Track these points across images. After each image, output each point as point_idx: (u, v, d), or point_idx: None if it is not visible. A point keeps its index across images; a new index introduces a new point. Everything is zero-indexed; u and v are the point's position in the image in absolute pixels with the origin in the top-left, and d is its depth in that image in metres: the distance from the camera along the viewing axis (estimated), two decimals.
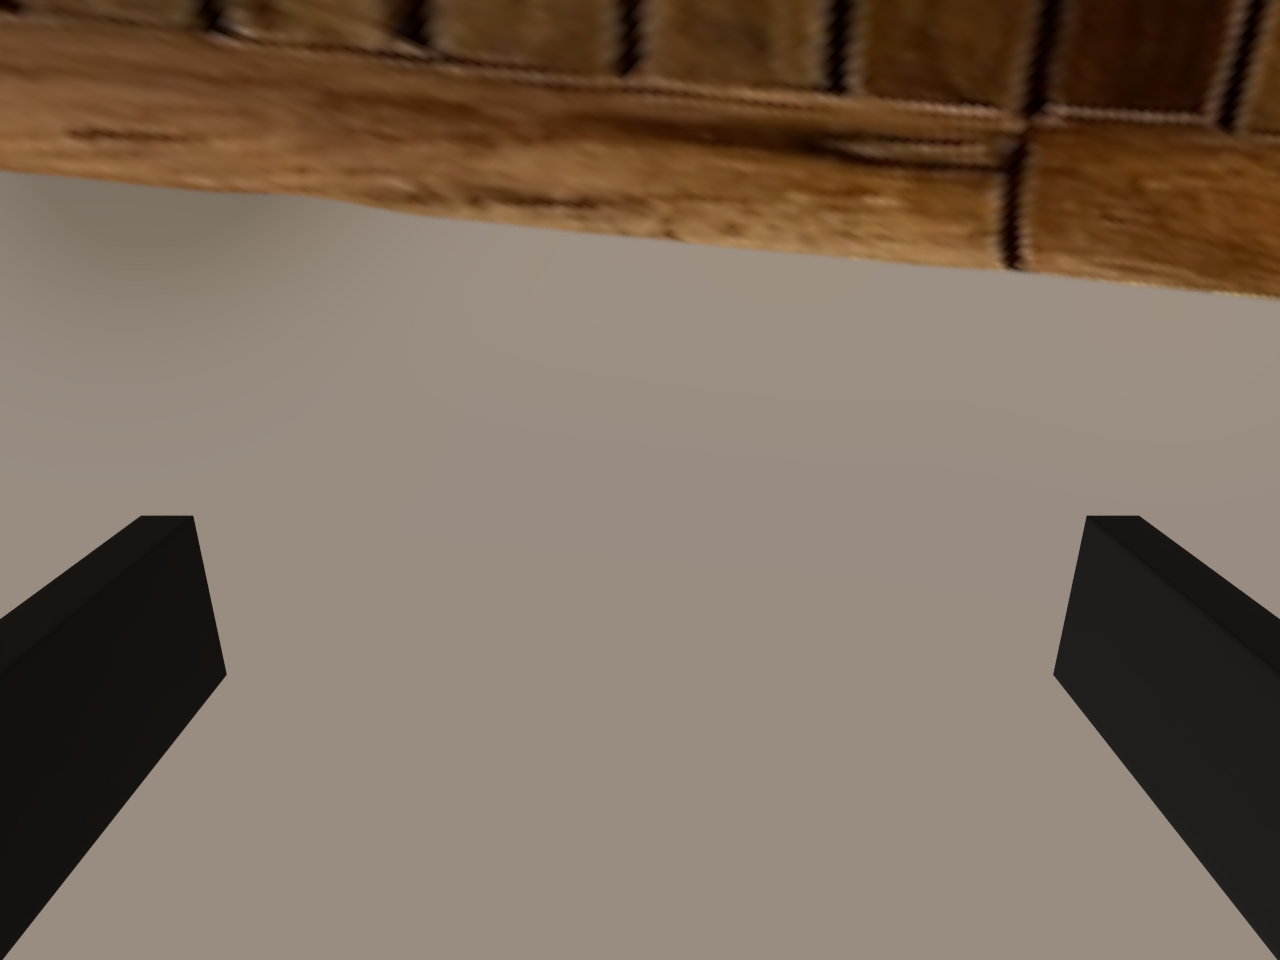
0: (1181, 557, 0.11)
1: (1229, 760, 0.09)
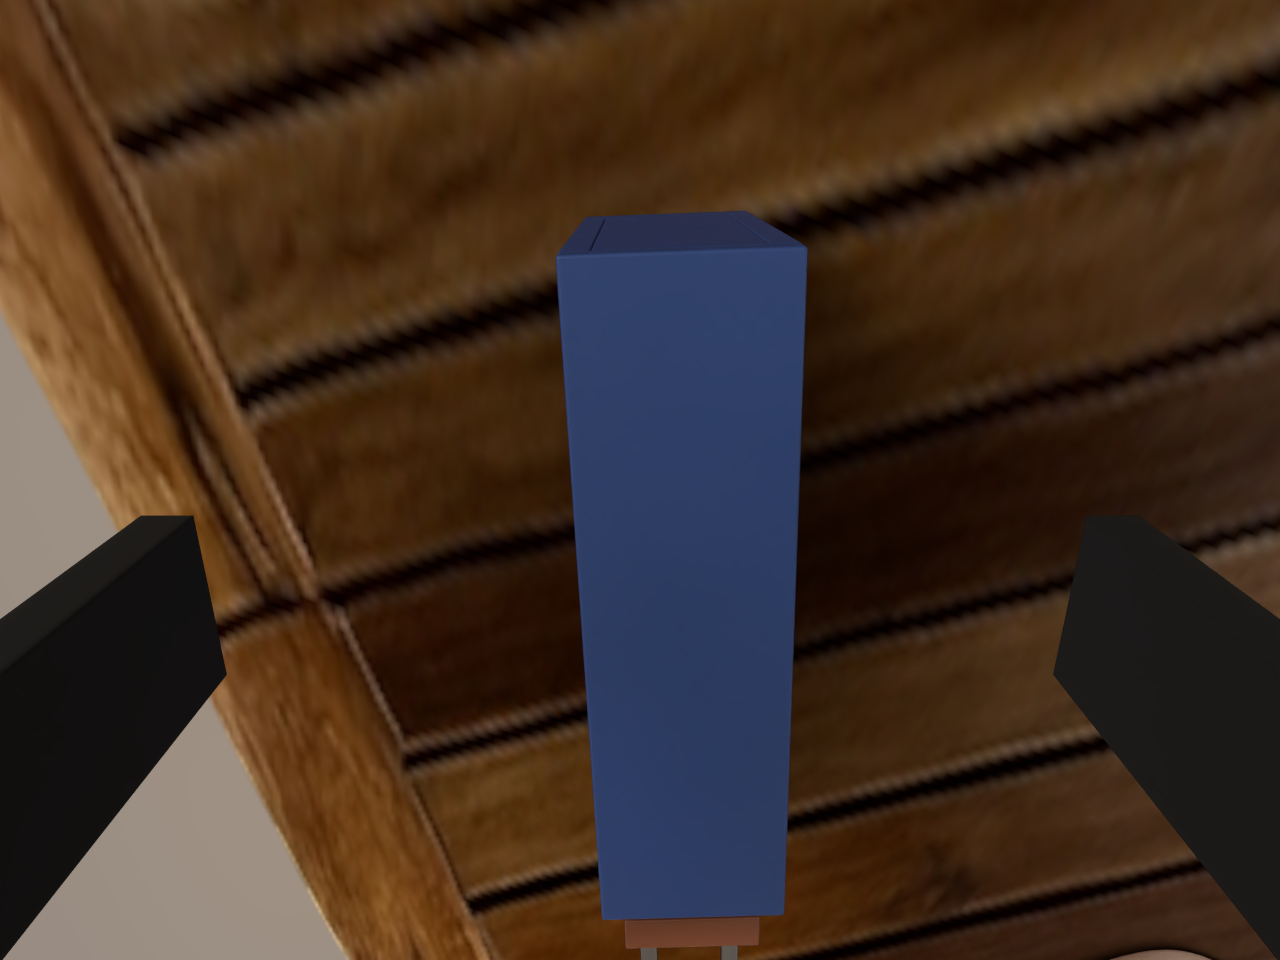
0: (1181, 557, 0.11)
1: (1230, 761, 0.09)
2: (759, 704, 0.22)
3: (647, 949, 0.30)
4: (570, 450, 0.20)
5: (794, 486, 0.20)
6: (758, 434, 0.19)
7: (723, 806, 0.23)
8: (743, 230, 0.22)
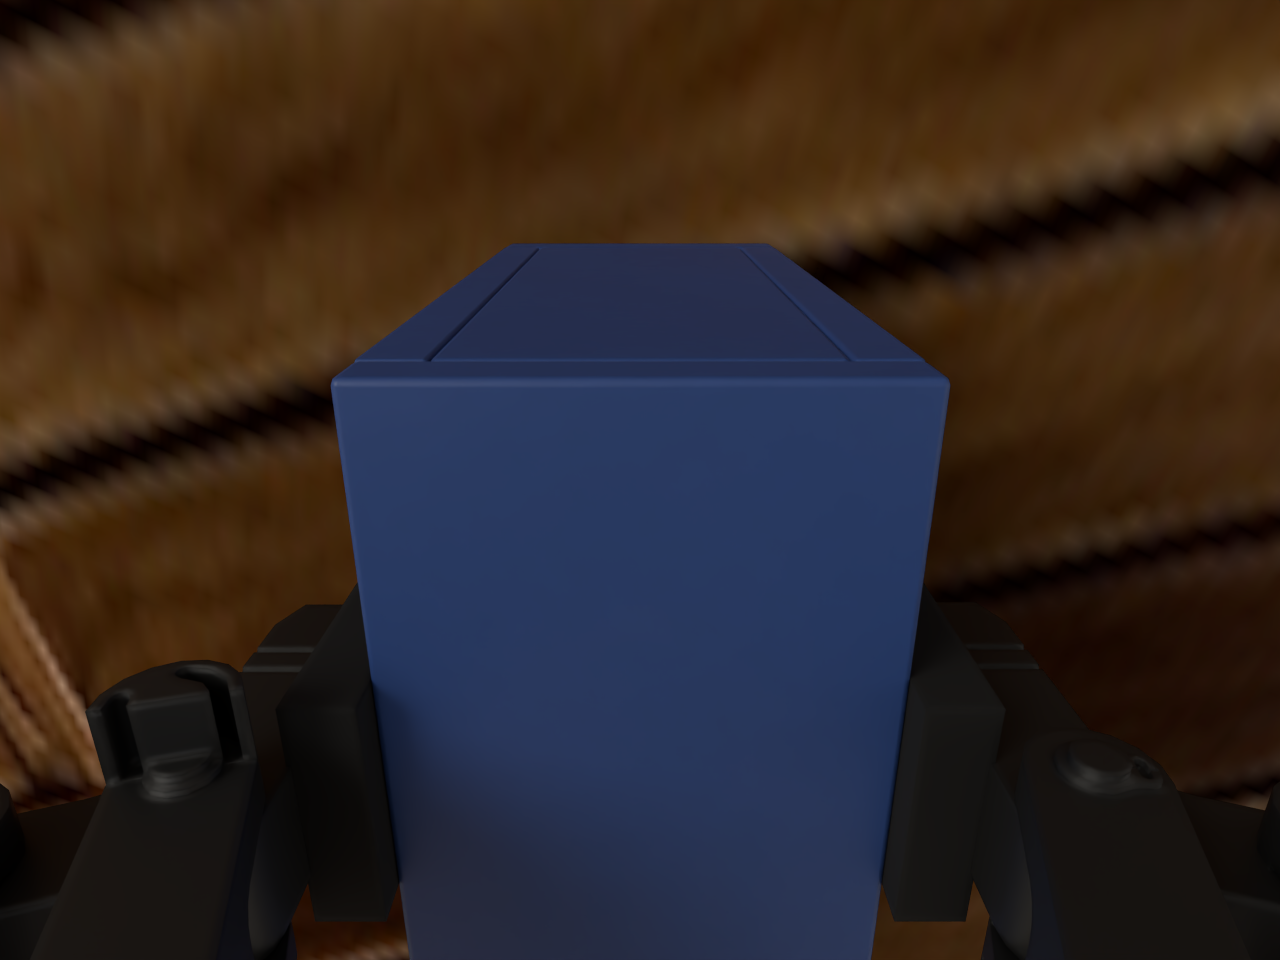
0: None
1: None
2: None
3: None
4: (387, 787, 0.09)
5: (874, 866, 0.09)
6: (803, 770, 0.09)
7: None
8: (776, 299, 0.11)
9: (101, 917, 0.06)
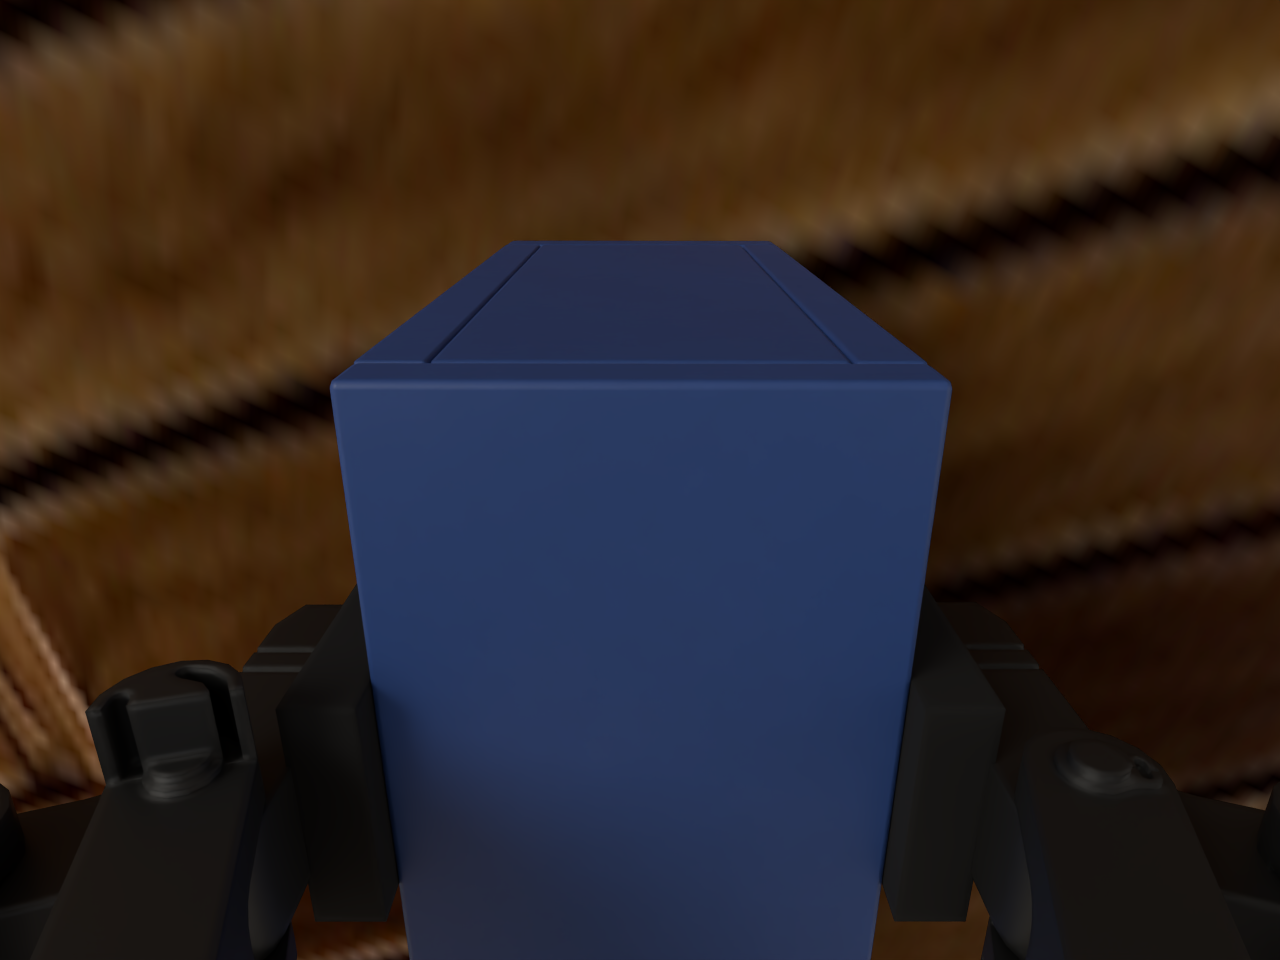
0: None
1: None
2: None
3: None
4: (386, 789, 0.09)
5: (873, 867, 0.09)
6: (803, 772, 0.09)
7: None
8: (778, 299, 0.11)
9: (101, 916, 0.06)
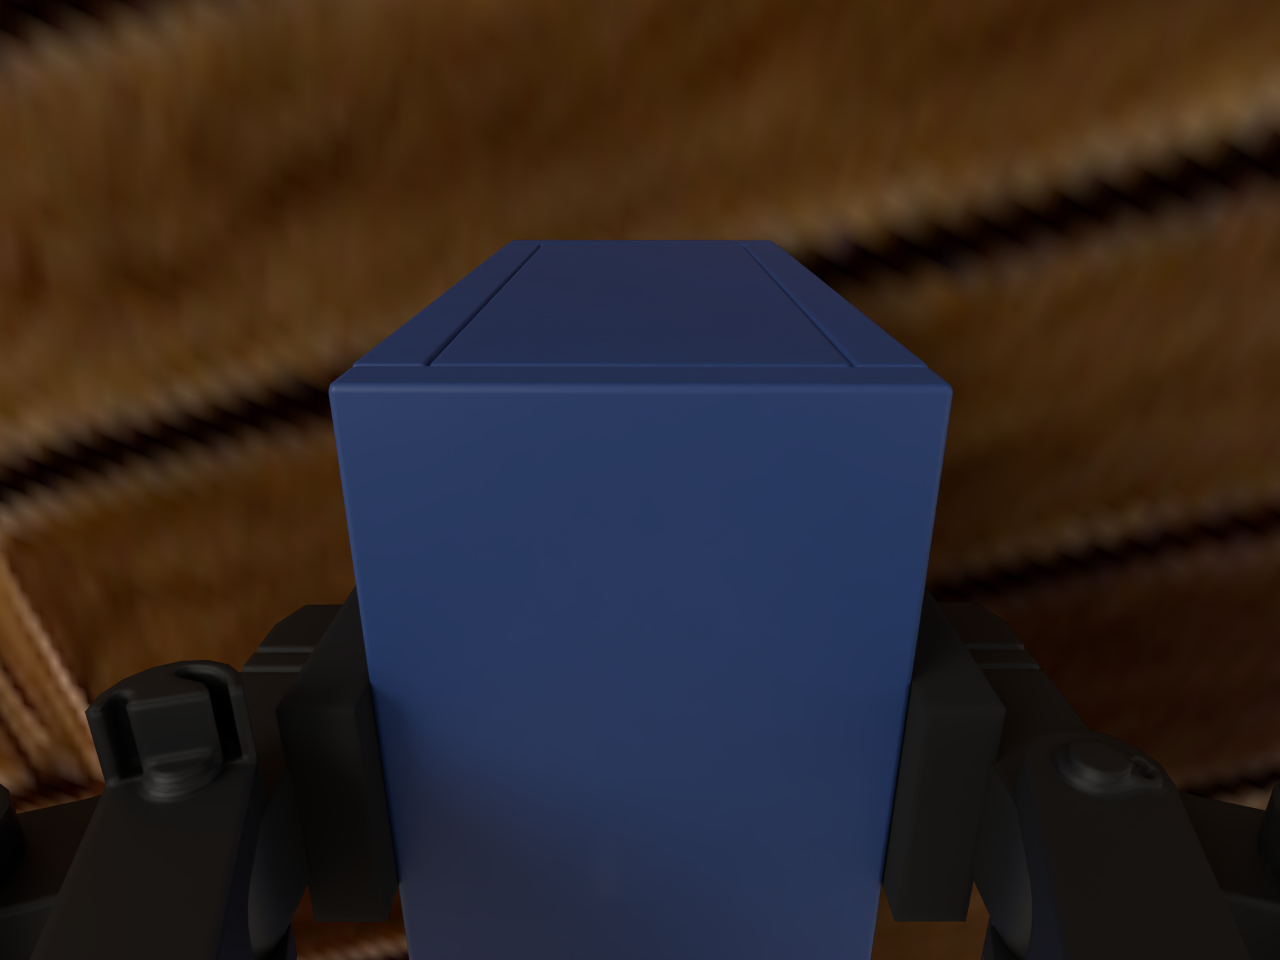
0: None
1: None
2: None
3: None
4: (386, 791, 0.09)
5: (873, 870, 0.09)
6: (803, 775, 0.09)
7: None
8: (779, 300, 0.11)
9: (101, 917, 0.06)
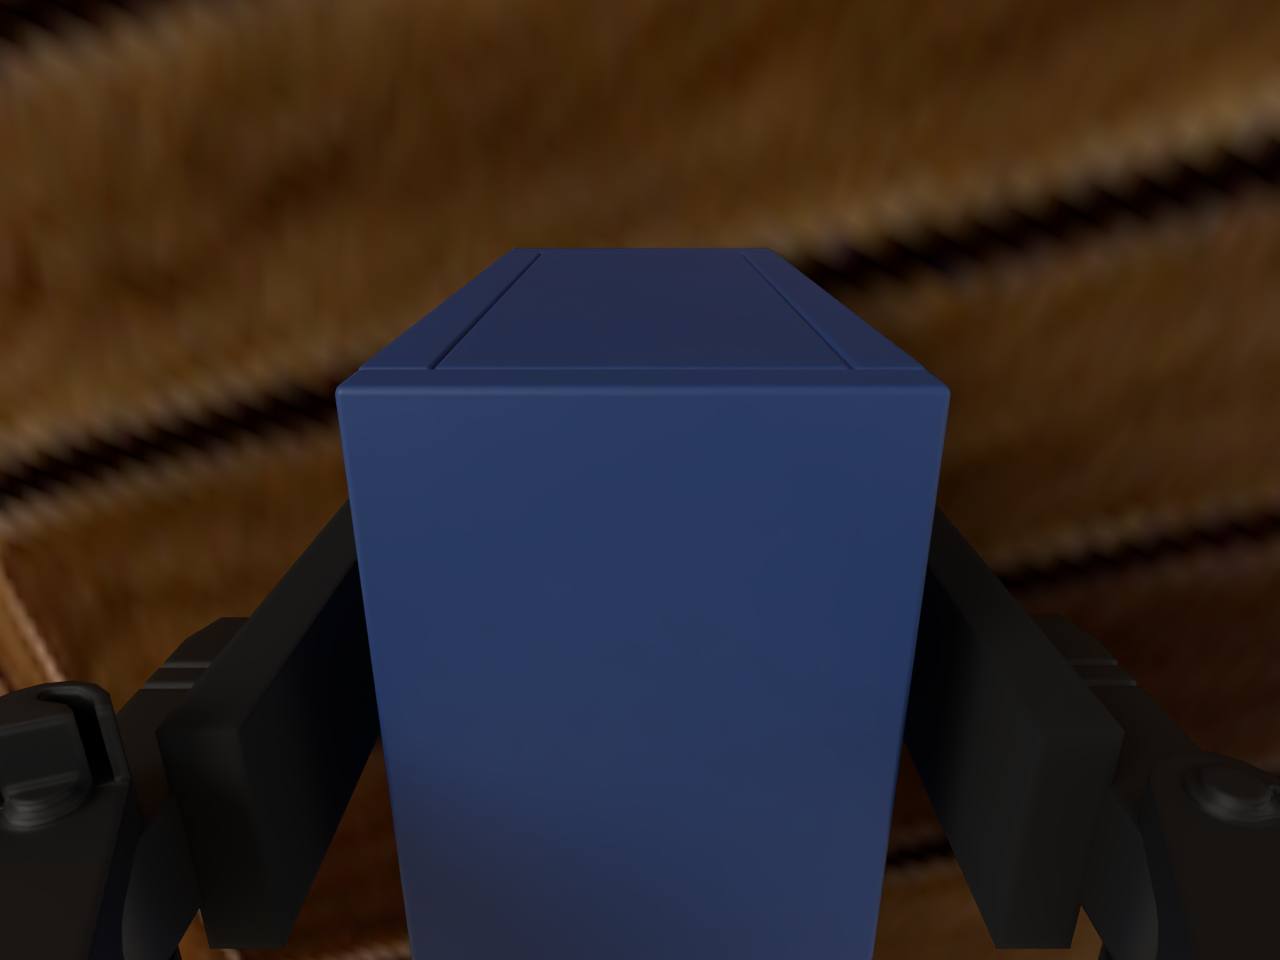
0: None
1: (926, 672, 0.11)
2: None
3: None
4: (390, 792, 0.09)
5: (874, 871, 0.09)
6: (804, 775, 0.09)
7: None
8: (778, 306, 0.11)
9: None
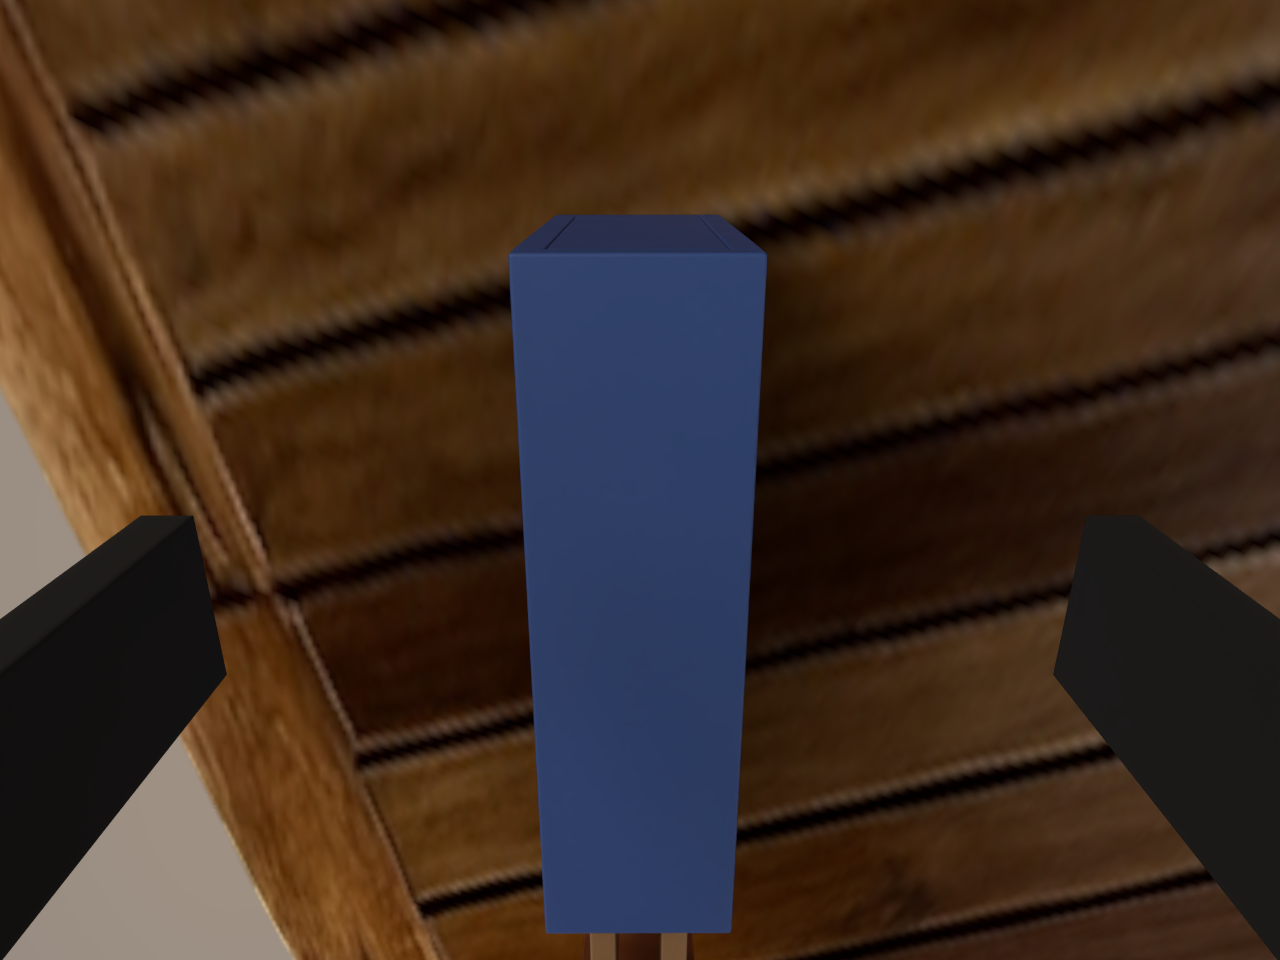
0: (1181, 557, 0.11)
1: (1231, 761, 0.09)
2: (709, 718, 0.22)
3: None
4: (520, 453, 0.19)
5: (749, 498, 0.20)
6: (713, 443, 0.19)
7: (671, 821, 0.23)
8: (708, 234, 0.21)
9: None
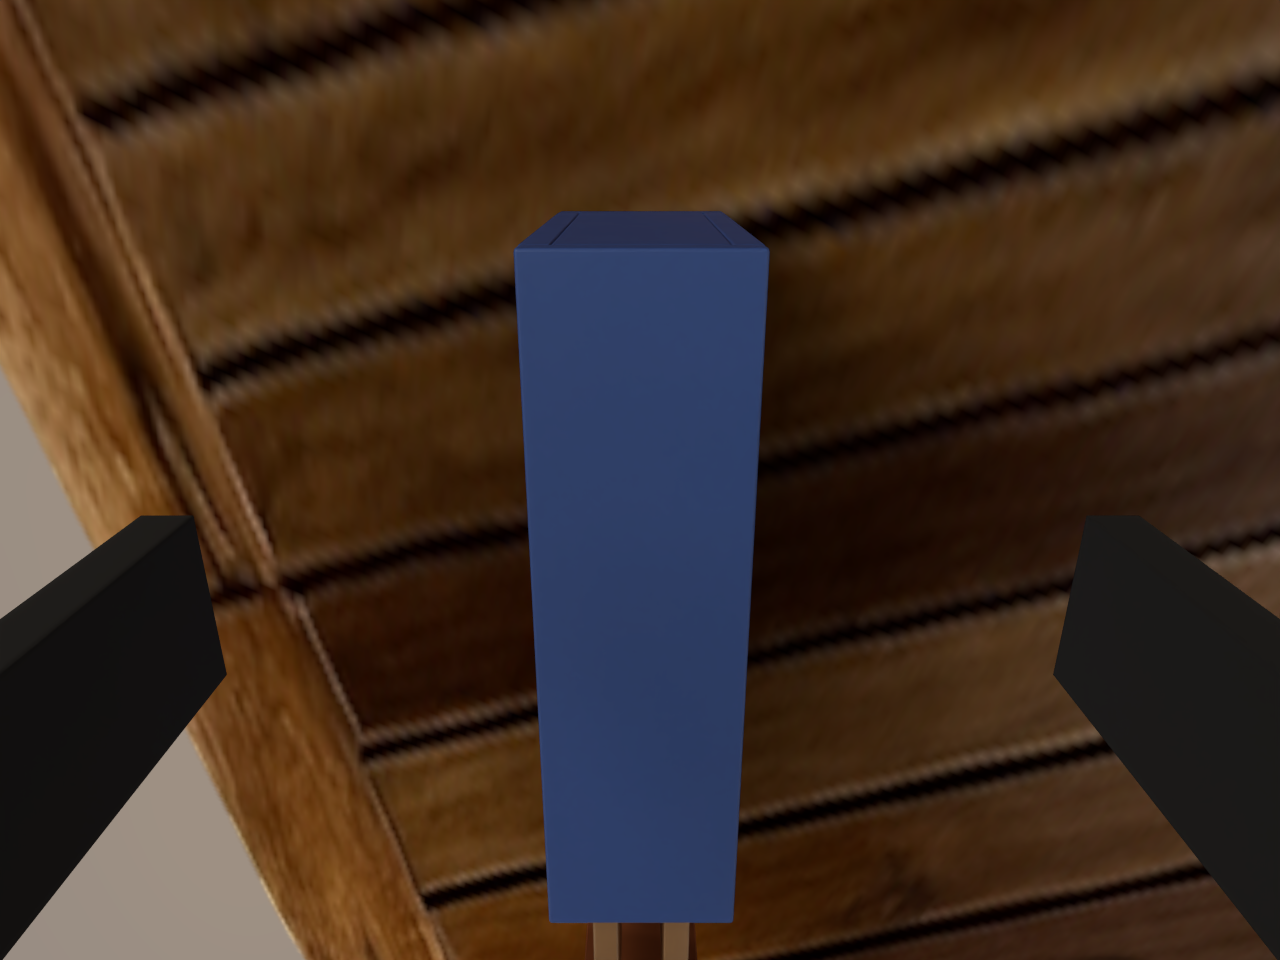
0: (1181, 557, 0.11)
1: (1230, 761, 0.09)
2: (712, 710, 0.22)
3: None
4: (525, 447, 0.19)
5: (751, 491, 0.20)
6: (716, 437, 0.19)
7: (673, 811, 0.23)
8: (711, 230, 0.21)
9: None
